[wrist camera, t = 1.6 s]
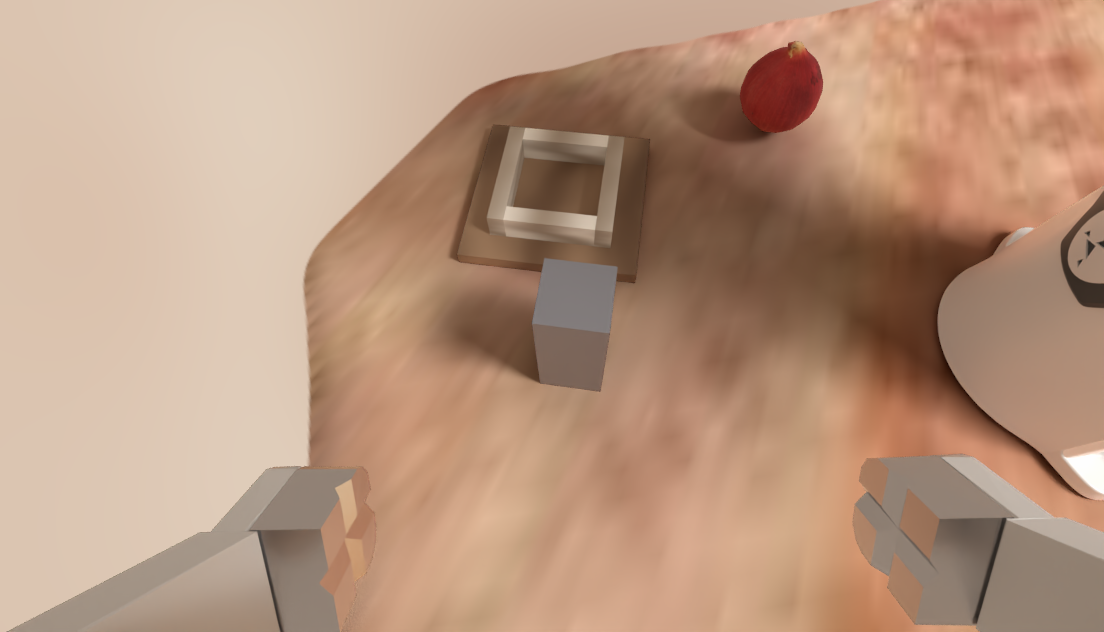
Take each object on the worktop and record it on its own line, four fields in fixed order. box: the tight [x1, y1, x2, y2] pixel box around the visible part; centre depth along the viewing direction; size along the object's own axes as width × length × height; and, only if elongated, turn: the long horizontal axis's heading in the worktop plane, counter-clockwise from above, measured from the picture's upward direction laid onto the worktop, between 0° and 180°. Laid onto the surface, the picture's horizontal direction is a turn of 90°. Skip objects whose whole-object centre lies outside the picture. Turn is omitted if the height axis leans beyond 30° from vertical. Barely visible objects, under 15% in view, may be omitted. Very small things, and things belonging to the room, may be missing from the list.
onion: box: [740, 41, 823, 133], centre depth 42 cm, size 6×6×8 cm
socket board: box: [457, 124, 650, 283], centre depth 41 cm, size 13×13×3 cm
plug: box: [532, 258, 618, 392], centre depth 32 cm, size 4×4×9 cm
